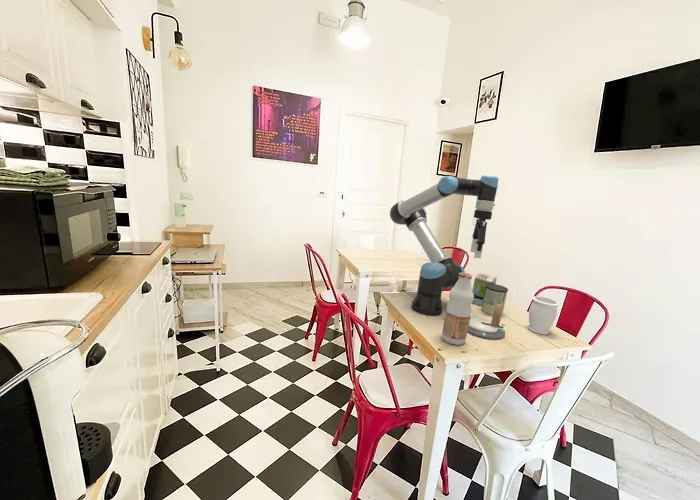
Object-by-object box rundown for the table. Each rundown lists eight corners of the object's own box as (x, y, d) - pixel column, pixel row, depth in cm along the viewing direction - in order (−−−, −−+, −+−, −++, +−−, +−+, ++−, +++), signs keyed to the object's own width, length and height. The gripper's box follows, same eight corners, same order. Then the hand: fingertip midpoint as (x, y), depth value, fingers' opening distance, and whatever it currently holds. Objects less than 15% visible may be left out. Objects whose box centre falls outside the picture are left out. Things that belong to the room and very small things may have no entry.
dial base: (459, 333, 131) (459, 330, 131) (455, 315, 150) (456, 313, 150) (509, 343, 127) (510, 340, 126) (499, 324, 146) (500, 321, 145)
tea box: (488, 308, 165) (494, 282, 162) (469, 303, 170) (474, 277, 167) (492, 300, 178) (497, 276, 175) (473, 296, 183) (478, 272, 180)
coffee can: (478, 307, 165) (483, 282, 162) (498, 310, 164) (503, 285, 161) (484, 315, 155) (490, 288, 152) (505, 318, 154) (511, 291, 151)
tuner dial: (465, 328, 133) (470, 304, 131) (463, 316, 147) (467, 294, 144) (505, 337, 129) (511, 312, 127) (499, 323, 142) (504, 301, 140)
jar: (520, 326, 146) (527, 296, 143) (535, 324, 150) (542, 295, 146) (540, 337, 136) (548, 305, 133) (556, 335, 140) (564, 304, 137)
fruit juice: (438, 340, 123) (450, 273, 117) (444, 331, 131) (455, 269, 126) (463, 348, 119) (476, 279, 113) (466, 338, 127) (479, 274, 121)
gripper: (498, 212, 129) (488, 261, 133) (487, 209, 152) (479, 251, 157) (479, 210, 130) (470, 259, 135) (471, 207, 154) (464, 249, 158)
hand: (475, 255), depth 146 cm, fingers open, 13 cm apart
